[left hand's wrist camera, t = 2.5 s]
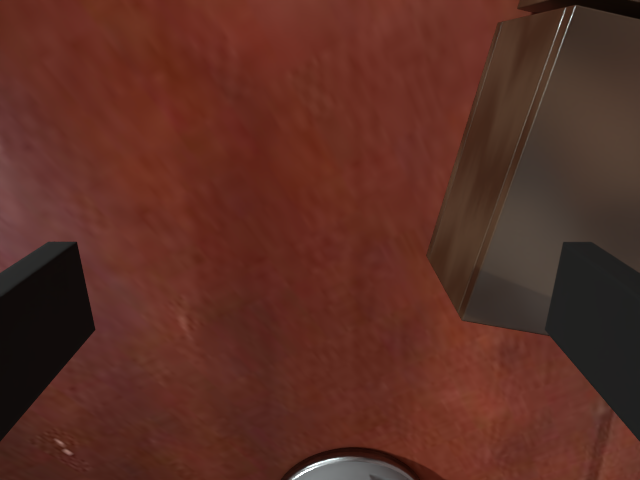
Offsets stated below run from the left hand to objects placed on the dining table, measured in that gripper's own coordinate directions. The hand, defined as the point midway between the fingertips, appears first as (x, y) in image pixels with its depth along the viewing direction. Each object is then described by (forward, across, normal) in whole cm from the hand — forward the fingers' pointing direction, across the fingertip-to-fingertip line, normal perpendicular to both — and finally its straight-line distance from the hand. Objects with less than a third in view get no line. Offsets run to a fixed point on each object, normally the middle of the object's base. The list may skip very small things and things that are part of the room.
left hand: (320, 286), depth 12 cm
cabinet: (+21, -15, +1) cm, 26 cm away
